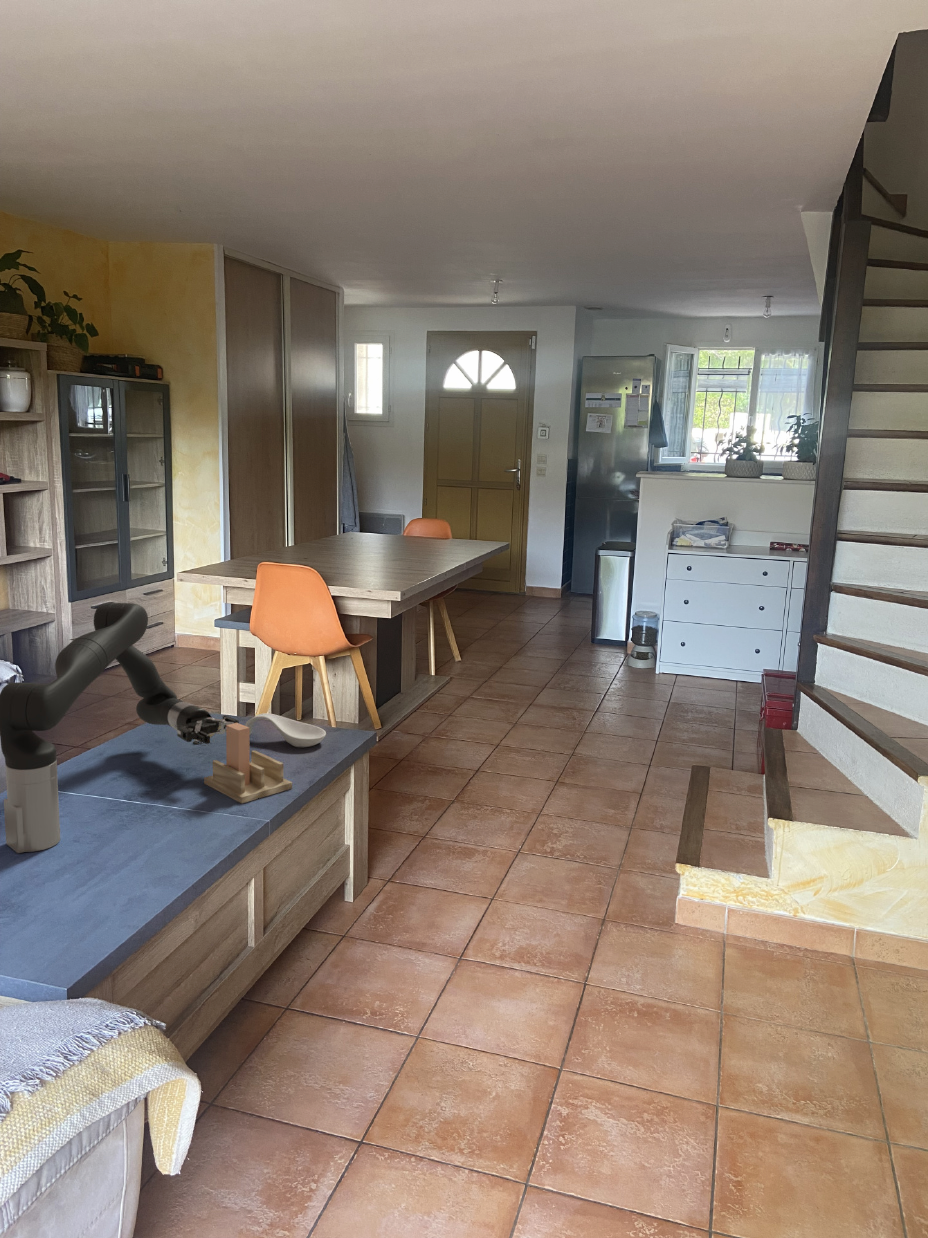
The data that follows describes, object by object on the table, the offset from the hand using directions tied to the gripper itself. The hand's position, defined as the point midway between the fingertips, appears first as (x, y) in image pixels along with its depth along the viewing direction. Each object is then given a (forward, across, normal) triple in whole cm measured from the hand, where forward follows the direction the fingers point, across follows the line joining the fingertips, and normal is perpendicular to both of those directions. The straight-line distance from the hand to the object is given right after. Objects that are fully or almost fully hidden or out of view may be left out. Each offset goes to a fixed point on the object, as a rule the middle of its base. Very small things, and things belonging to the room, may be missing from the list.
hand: (224, 736), depth 217 cm
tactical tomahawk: (-32, +18, +12) cm, 39 cm away
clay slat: (+6, 0, +10) cm, 12 cm away
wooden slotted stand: (+6, +3, +12) cm, 13 cm away
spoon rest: (-15, +28, +12) cm, 34 cm away
